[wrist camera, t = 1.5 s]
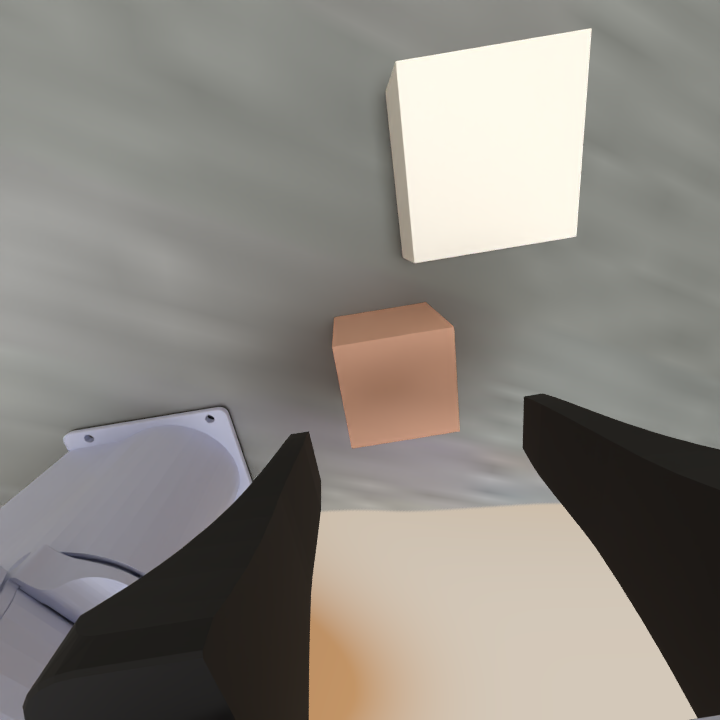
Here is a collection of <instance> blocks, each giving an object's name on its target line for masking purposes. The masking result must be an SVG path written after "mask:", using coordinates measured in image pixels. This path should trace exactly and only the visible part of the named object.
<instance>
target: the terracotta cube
mask: <svg viewBox="0 0 720 720" xmlns="http://www.w3.org/2000/svg"><path fill="white" fill-rule="evenodd" d="M332 349H333V354H334V359H335V365H336V370H337V375H338V380H339V385H340V390H341V395H342V400H343V406H344V411H345V416H346V421H347V426H348V431H349V436H350V442H351V447H352V449H353V448H359V447H365V446H371V445H378V444H384V443H390V442H396V441H402V440H409V439H415V438H421V437H427V436H433V435H440V434H446V433H452V432H458V431H460V426H459V408H458V389H457V371H456V353H455V335H454V326H452V325H451V324H450V323H449V322H448V321H447V320H446V319H444V318H443V317H442V316H441V315H440V314H439V313H438V312H436V311H435V310H434V309H433V308H432V307H431V306H430V305H429V304H427V303H426V302H424V303H418V304H412V305H406V306H400V307H394V308H387V309H381V310H375V311H369V312H363V313H357V314H351V315H345V316H339V317H334V327H333V341H332Z"/></svg>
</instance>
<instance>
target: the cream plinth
mask: <svg viewBox="0 0 720 720" xmlns="http://www.w3.org/2000/svg"><path fill="white" fill-rule="evenodd" d="M590 42H591V29H585V30H579V31H573V32H567V33H561V34H555V35H549V36H543V37H537V38H531V39H525V40H520V41H514V42H508V43H502V44H496V45H490V46H484V47H478V48H472V49H466V50H460V51H454V52H448V53H443V54H437V55H431V56H425V57H419V58H413V59H407V60H401V61H396V62H395V65H394V68H393V71H392V74H391V77H390V80H389V83H388V86H387V89H386V92H385V94H386V103H387V113H388V123H389V132H390V142H391V151H392V161H393V170H394V180H395V189H396V199H397V209H398V218H399V228H400V237H401V247H402V256H403V258H405V259H407V260H409V261H411V262H413V263H419V262H425V261H431V260H437V259H443V258H449V257H455V256H461V255H467V254H474V253H480V252H486V251H492V250H498V249H504V248H510V247H516V246H522V245H528V244H534V243H540V242H546V241H552V240H558V239H564V238H570V237H576V233H577V219H578V205H579V192H580V178H581V165H582V151H583V137H584V124H585V110H586V96H587V83H588V69H589V56H590Z"/></svg>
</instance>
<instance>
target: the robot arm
mask: <svg viewBox="0 0 720 720" xmlns="http://www.w3.org/2000/svg"><path fill="white" fill-rule="evenodd" d="M208 415H211V416H213V417H214V419H210V418H209V417H208ZM89 435H91V436H92V437H93V438H94V439H93V438H91V437H90V436H89ZM63 441H64V444H65V445H66V447H67V449H68V451H69V452H67V453H66V454H65V455H64V456H63V457H61V458H60V459H59V460H58V461H57V462H55V463H54V464H53V465H52V466H50V467H49V468H48V469H47V470H46V471H44V472H43V473H42V474H41V475H40V476H38V477H37V478H36V479H35V480H33V481H32V482H31V483H30V484H29V485H27V486H26V487H25V488H24V489H23V490H21V491H20V492H19V493H18V494H17V495H15V496H14V497H13V498H12V499H10V500H9V501H8V502H7V503H6V504H4V505H3V506H2V507H1V508H0V720H309V642H310V606H311V587H312V576H313V568H314V560H315V553H316V545H317V537H318V529H319V521H320V512H321V479H320V475H319V471H318V467H317V463H316V459H315V455H314V450H313V446H312V442H311V438H310V434H309V432H303V433H297V434H291V435H290V436H289V437H288V439H287V440H286V441H285V442H284V444H283V445H282V446H281V448H280V449H279V450H278V452H277V453H276V454H275V455H274V457H273V458H272V459H271V461H270V462H269V463H268V464H267V466H266V467H265V468H264V469H263V471H262V472H261V473H260V474H259V475H258V477H257V478H256V479H255V480H254V481H253V482H252V480H251V477H250V474H249V471H248V468H247V465H246V462H245V459H244V456H243V453H242V450H241V447H240V444H239V441H238V439H237V436H236V433H235V430H234V427H233V424H232V421H231V418H230V415H229V412H228V411H227V410H226V409H225V408H223V407H215V408H209V409H203V410H197V411H190V412H184V413H178V414H172V415H166V416H160V417H154V418H148V419H142V420H136V421H129V422H123V423H117V424H111V425H105V426H99V427H93V428H87V429H81V430H75V431H71V432H69V433H67V434H66V435H65V436H64V437H63ZM523 449H524V451H525V453H526V455H527V456H528V458H529V460H530V462H531V463H532V465H533V466H534V468H535V470H536V471H537V473H538V474H539V476H540V477H541V478H542V480H543V481H544V482H545V484H546V485H547V486H548V487H549V489H550V490H551V491H552V492H553V494H554V495H555V496H556V498H557V499H558V500H559V501H560V503H561V504H562V505H563V506H564V507H565V509H566V510H567V511H568V512H569V514H570V515H571V516H572V517H573V519H574V520H575V521H576V522H577V524H578V525H579V526H580V527H581V529H582V530H583V531H584V532H585V534H586V535H587V536H588V538H589V539H590V540H591V542H592V543H593V544H594V546H595V547H596V549H597V550H598V552H599V553H600V555H601V556H602V557H603V559H604V561H605V562H606V564H607V565H608V567H609V568H610V570H611V571H612V573H613V575H614V576H615V577H616V579H617V581H618V582H619V584H620V585H621V587H622V589H623V590H624V592H625V593H626V595H627V597H628V598H629V600H630V601H631V603H632V605H633V606H634V608H635V610H636V611H637V613H638V614H639V616H640V617H641V619H642V621H643V623H644V624H645V626H646V628H647V629H648V631H649V633H650V634H651V636H652V638H653V640H654V641H655V643H656V645H657V646H658V648H659V650H660V651H661V653H662V655H663V657H664V658H665V660H666V662H667V664H668V665H669V667H670V669H671V671H672V672H673V674H674V676H675V678H676V680H677V681H678V683H679V685H680V687H681V689H682V690H683V692H684V694H685V696H686V698H687V699H688V701H689V703H690V705H691V707H692V709H693V711H694V712H695V714H696V716H697V719H691V720H720V450H719V449H715V448H710V447H706V446H702V445H698V444H694V443H691V442H687V441H683V440H679V439H675V438H672V437H668V436H665V435H661V434H658V433H654V432H651V431H648V430H645V429H642V428H639V427H636V426H633V425H630V424H627V423H624V422H621V421H618V420H615V419H612V418H610V417H607V416H604V415H601V414H599V413H596V412H593V411H591V410H588V409H585V408H583V407H580V406H577V405H575V404H572V403H569V402H567V401H564V400H561V399H558V398H555V397H552V396H549V395H546V394H537V395H531V396H525V397H524V420H523Z"/></svg>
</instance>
